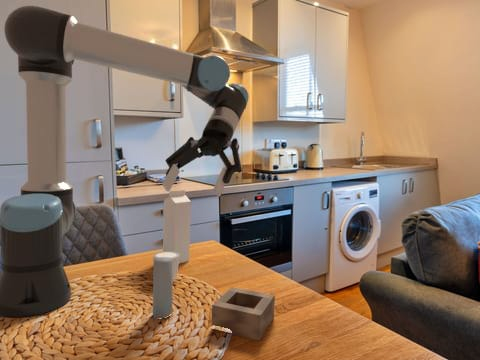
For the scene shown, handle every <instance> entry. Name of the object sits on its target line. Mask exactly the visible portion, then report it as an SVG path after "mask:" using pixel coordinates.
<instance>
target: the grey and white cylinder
mask: <svg viewBox="0 0 480 360" xmlns="http://www.w3.org/2000/svg"><path fill="white" fill-rule="evenodd" d="M179 256H180V255H179V253H176V252H172V251H164V252H163V251H159V252H156V253H154V254H153V256H152V257H153V260H154V259H155V258H159V257H169V258H172V259H173V278H175V277H177V278H178V271H179Z"/></svg>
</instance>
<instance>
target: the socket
mask: <svg viewBox="0 0 480 360" xmlns="http://www.w3.org/2000/svg"><path fill="white" fill-rule="evenodd" d="M275 296H276V295H274V294H268V293H264V292H259V291H254V290H248V289H243V288H238V287H230V288H229V289H228V290H226V291H225V293H223V294H222V295H221V296H220V297H219V298H218V299H217V300H216V301H215V302H214V303H213V304H212V305H211V326H212V325H215V326H220V327H224V328H228V329H230V330H231V331H232V334H231V335H233V336H237V337H242V338H245V339H246V338H247V339H250V340H255V341H257V342H259V341H261V339H262V337H263V336H264V334H265V333H266V331H267V330H268V328H269V326H270V325H271V323H272V322H273V320H274V319H275V318H274V317H275V299H276V297H275Z"/></svg>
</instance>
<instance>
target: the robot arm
mask: <svg viewBox="0 0 480 360" xmlns="http://www.w3.org/2000/svg"><path fill="white" fill-rule="evenodd" d="M4 36H5V39H6V41H7V44H8V46H9V47H10V48H11V50H12V51H13V52H14V53H15V54H16V55H17V61H18V63H17V66H18V67H17V68H18V69H17V70H18V76H19V77H20V78H21V79H22V80H23V81H24V82H25V96H26V97H25V99H26V100H25V101H26V102H25V105H26V107H25V108H26V148H27V149H26V152H27V154H26V155H27V156H26V157H27V181H26V182H25V183H24V184H23V185H22V186H20V195H16V196H12V197H10V198H8V199H6V200H4V201H3V202H1V205H0V260H1V264H0V265H1V266H0V267H1V270H0V271H1V272H0V316H2V317H7V318H21V317H22V318H24V317H33V316H38V315H41V314H45V313H48V312H51V311H55V310H56V309H59V308H61V307H62V306H65V304H67V303H68V302H69V301H70V300H71V298H72V286H71V283H70V282H69V278H68V276H67V273H66V270H65V268H64V265H63V237H64V235H65V234H66V233H67V232H68V231H69V230H71V229H72V226H73V225H74V222H75V220H76V217H77V209H76V205H75V202H74V192H73V191H74V187H73V185H72V184H70V183H69V182H68V181H67V180H68V179H67V129H66V128H67V127H66V126H67V124H66V123H67V122H66V121H67V120H66V118H67V115H66V113H67V112H66V111H67V105H66V104H67V102H66V88H67V85H69V84H70V83H71V82H72V81H73V64H74V62H75V60H77V61H82V62H86V63H90V64H94V65H98V66H103V67H106V68H111V69H115V70H119V71H123V72H128V73H131V74H136V75H139V76H144V77H149V78H153V79H156V80H160V81H165V82H169V83H173V84H178V85H181V87H183V88H184V89H185V90H186V91H187V92H190V93H191V94H192V95H194V96H195V97H197V98H198V99H199V100H201V101H202V102H204V103H205V104H206V105H208V106H209V107H210V108H212V109H213V111H212V113H211V114H210V117H209V119H208V120H207V123H206V124H205V127H204V128H203V130H202V135H201V137H200V138H199V139H194V137H193V136H190V137H189V138H188V139H187V141H186V142H185V143H183V144H182V146H181V147H179V148H178V149H177V150H175V151H174V152H173V153H172V154H171V155H169V156H168V157H167V158H165V161H164V162H165V163H166V165H167V167H168V169H167V171H166V172H165V178H164V180H163V181H162V184H161V185H162V186H163V188H164V190H165V192H170V191H171V189H172V188H173V185H174V184H175V182H176V180H177V177H179V175H180V172H181V171H180V169H181V168H183V167H185V166H186V165H188V164H189V163H191V162H193V161H195V160H196V159H198V158H199V159H201V158H203V157H209V156H210V157H216V156H219V158H220V160H221V161H222V163H223V165H224V166H223V167H222V168H221V171H220V174H219V175H218V178H217V180H216V182H215V185H214V187H213V191H214V193H215V195H216V196H217V197H221V195H222V193H223V191H224V188H225V186H226V184H227V185H228V184H230V182H231V179H232V177H233V175H234V174H235V173H238V174H240V173H242V172H243V169H242V164H241V160H240V154H239V149H240V144H239V141H238V138H233V135H234V134H235V131H236V129H237V127H238V125H239V122H240V120H241V118H242V115H243V114H244V113H245V112H244V111H245V110H246V108H247V105H248V102H249V97H250V96H249V93H248V90H247V89H246V87H245V86H243V85H241V84H238V83H230V84H227V83H228V82H229V80H230V77H231V70H230V69H231V68H230V66H229V64H228V62H227V61H226V60H225V59H224V58H223V57H221V56H219V55H213V54H212V55H209V56H203V55H199V54H193V53H192V52H186V51H183V50H179V49H177V48H173V47H168V46H165V45H161V44H158V43H153V42H151V41H147V40H143V39H139V38H135V37H131V36H128V35H125V34H121V33H117V32H113V31H110V30H107V29H106V30H105V29H103V28H99V27H96V26H91V25H89V24H84V23H81V22H78V20H77V19H76V17H75V16H73V15H70V14H68V13H67V14H66V13H63V12H60V11H56V10H52V9H49V8H45V7H41V6H39V5H38V6H37V5H23V6H20V7H17V8H16V9H14V10H12V12H11V13H9V15H8V16H7V18H6V20H5V23H4ZM228 148H229V149H230V150H231V153H232V158H233V164H232V163H231V162H230V160H229V158H228V156H227V155H226V153H225V150H227V149H228ZM199 150H200V151H199Z"/></svg>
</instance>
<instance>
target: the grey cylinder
mask: <svg viewBox="0 0 480 360" xmlns="http://www.w3.org/2000/svg"><path fill="white" fill-rule="evenodd" d="M152 268H153V269H152V270H153V275H152V276H153V277H152V279H153V280H152V281H153V283H152V285H153V286H152V287H153V288H152V317H153V318H154V319H155V318H164V317H167V316H169V315H170V314H171V313H172V314H173V284H174V283H173V259H172V258H169V257H159V258H155V259H153V267H152Z"/></svg>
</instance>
